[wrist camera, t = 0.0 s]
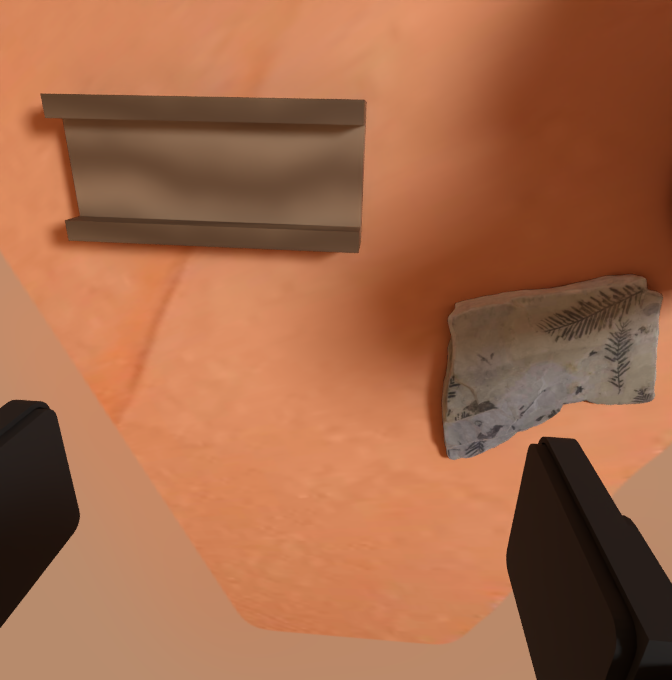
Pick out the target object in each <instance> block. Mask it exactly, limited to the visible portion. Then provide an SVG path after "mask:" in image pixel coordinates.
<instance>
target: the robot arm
mask: <svg viewBox="0 0 672 680" xmlns="http://www.w3.org/2000/svg"><path fill="white" fill-rule="evenodd" d="M79 519H80V513H79V508H78V504H77V499H76V495H75V491H74V487H73V482H72V478H71V474H70V470H69V465H68V462H67V457H66V453H65V449H64V444H63V440H62V436H61V432H60V427H59V423H58V419H57V416H56V413H55V412H54V411H53V410H51V409H50V408H49V406H48V405H47V404H46V403H44V402H41V401H26V400H12V401H10V402H8V403H6V404H5V405H4V406H2V407H1V408H0V628H1V626H2V625H3V624H4V623H5V621H6V620H7V619H8V617H9V616H10V615H11V613H12V612H13V611H14V610H15V608H16V607H17V606H18V604H19V603H20V602H21V601H22V599H23V598H24V597H25V595H26V594H27V593H28V592H29V590H30V589H31V588H32V586H33V585H34V584H35V582H36V581H37V580H38V579H39V577H40V576H41V575H42V573H43V572H44V571H45V570H46V568H47V567H48V566H49V564H50V563H51V562H52V560H53V559H54V558H55V556H56V555H57V554H58V553H59V551H60V550H61V549H62V548H63V546H64V545H65V544H66V542H67V541H68V540H69V538H70V537H71V536H72V535H73V533H74V532H75V530H76V528H77V526H78V523H79ZM506 562H507V570H508V574H509V578H510V582H511V585H512V589H513V593H514V597H515V600H516V604H517V608H518V611H519V615H520V619H521V623H522V626H523V630H524V634H525V637H526V641H527V645H528V648H529V652H530V656H531V660H532V663H533V667H534V671H535V674H536V678H537V680H672V583H671V582H670V580H669V579H668V577H667V575H666V574H665V572H664V570H663V569H662V567H661V566H660V564H659V562H658V561H657V559H656V558H655V556H654V554H653V553H652V551H651V549H650V548H649V546H648V545H647V543H646V541H645V540H644V538H643V537H642V535H641V533H640V532H639V530H638V528H637V527H636V525H635V524H634V523H633V522H632V520H631V519H630V518H628V517H626V516H624V515H621V513H620V511H619V510H618V508H617V507H616V505H615V503H614V502H613V500H612V498H611V496H610V495H609V493H608V491H607V490H606V488H605V486H604V485H603V483H602V481H601V480H600V478H599V476H598V475H597V473H596V471H595V470H594V468H593V466H592V465H591V463H590V461H589V460H588V458H587V456H586V455H585V453H584V451H583V450H582V448H581V446H580V445H579V443H578V442H577V441H576V440H575V439H570V438H556V437H542V438H541V439H540V441H539V443H538V444H530V446H529V448H528V452H527V456H526V461H525V466H524V471H523V476H522V480H521V485H520V490H519V495H518V499H517V504H516V509H515V514H514V519H513V523H512V528H511V533H510V538H509V542H508V547H507V554H506Z"/></svg>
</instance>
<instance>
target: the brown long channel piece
mask: <svg viewBox="0 0 672 680" xmlns="http://www.w3.org/2000/svg"><path fill="white" fill-rule="evenodd" d="M41 99H42V104H43V109H44V115H45V118H62V119H63V124H64V130H65V135H66V141H67V146H68V152H69V157H70V163H71V168H72V174H73V180H74V185H75V191H76V196H77V202H78V207H79V213H80V216H78V217H75V218H72V219H68V220H65V223H66V229H67V234H68V239H69V241H92V242H115V243H138V244H161V245H184V246H207V247H230V248H253V249H276V250H299V251H322V252H345V253H359V248H360V244H361V226H362V201H363V177H364V153H365V128H366V104H367V102H366V101H365V100H349V99H296V98H243V97H191V96H138V95H85V94H41Z"/></svg>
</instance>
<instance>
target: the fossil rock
mask: <svg viewBox="0 0 672 680" xmlns="http://www.w3.org/2000/svg"><path fill="white" fill-rule="evenodd" d="M662 300H663V296H662V294H660V293H659V292H657V291H652V290H649V289H647V281H646V278H645V277H642V276H636V275H634V274H627V275H619V276H617V275H608V276H603V277H599V278H595V279H592V280H587V281H584V282H578V283H573V284H569V285H566V286H561V287H555V288H548V289H535V290H519V291H511V292H503V293H499V294H495V295H488V296H482V297H479V298H475V299H469V300H465V301H461V302H457V303H455V310H454V311H453V312H452V313H451V314H450V315H449V317H448V325H449V329H450V333H451V339H450V342H449V345H448V363H447V369H446V376H445V379H444V384H443V394H442V419H443V427H444V443H445V446H446V453H447V456H448V457H449V459H452V460H455V459H459V458H470V457H474V456H476V455H478V454H481V453H483V452H485V451H487V450H489V449H491V448H494V447H496V446H498V445H499V444H501V443H504V442H505V441H507V440H508V439H510V438H511V437H512V436H513V435H515V434H516V433H517V432H519V431H525V430H527V429H529V428H531V427H534V426H537V425H539V424H542V423H543V422H545V421H547V420H548V419H550V418H551V417H553V416H554V415H556V414H557V413H558V412H560V410H561V408H562V406H563V404H569V403H576V402H581V401H588V402H591V403H595V404H606V405H614V404H617V405H622V404H640V403H646V402H650V401H652V400H653V399H654V397H655V393H654V386H655V381H656V359H657V344H658V335H659V314H660V308H661V304H662Z"/></svg>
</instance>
